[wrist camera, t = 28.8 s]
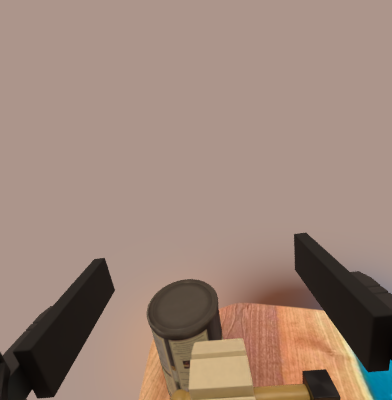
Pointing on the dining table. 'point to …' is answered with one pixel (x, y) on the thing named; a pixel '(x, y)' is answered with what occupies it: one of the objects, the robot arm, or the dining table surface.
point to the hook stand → (290, 389)
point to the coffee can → (182, 326)
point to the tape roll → (220, 371)
